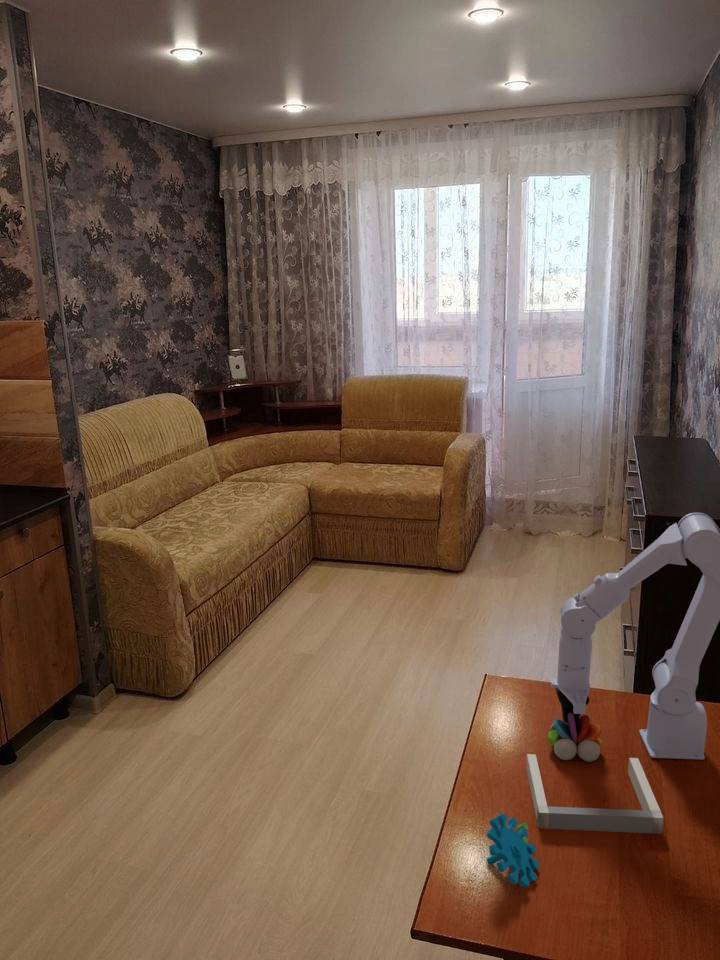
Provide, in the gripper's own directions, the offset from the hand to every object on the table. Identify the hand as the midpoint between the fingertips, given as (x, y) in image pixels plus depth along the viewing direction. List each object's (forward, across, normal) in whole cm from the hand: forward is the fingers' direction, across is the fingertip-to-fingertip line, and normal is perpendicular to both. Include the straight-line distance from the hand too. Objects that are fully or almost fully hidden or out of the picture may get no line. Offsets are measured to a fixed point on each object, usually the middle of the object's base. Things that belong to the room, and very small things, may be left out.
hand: (570, 725), depth 142 cm
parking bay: (+2, +18, 0) cm, 18 cm away
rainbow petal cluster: (+2, +5, 0) cm, 6 cm away
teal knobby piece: (+2, +34, -14) cm, 37 cm away
